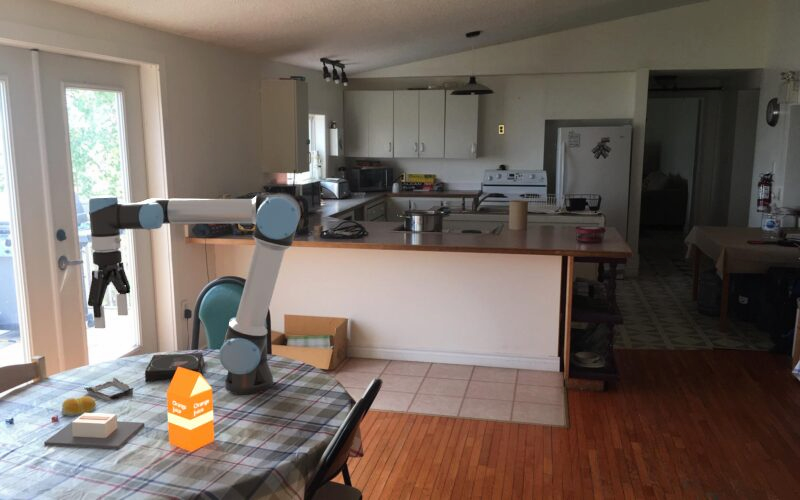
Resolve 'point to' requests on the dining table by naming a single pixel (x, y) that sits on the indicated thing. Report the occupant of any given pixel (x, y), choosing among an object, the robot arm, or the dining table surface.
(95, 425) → the block
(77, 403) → the bread roll
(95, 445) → the charcoal mat
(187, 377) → the orange juice
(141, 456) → the dining table surface
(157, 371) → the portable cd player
